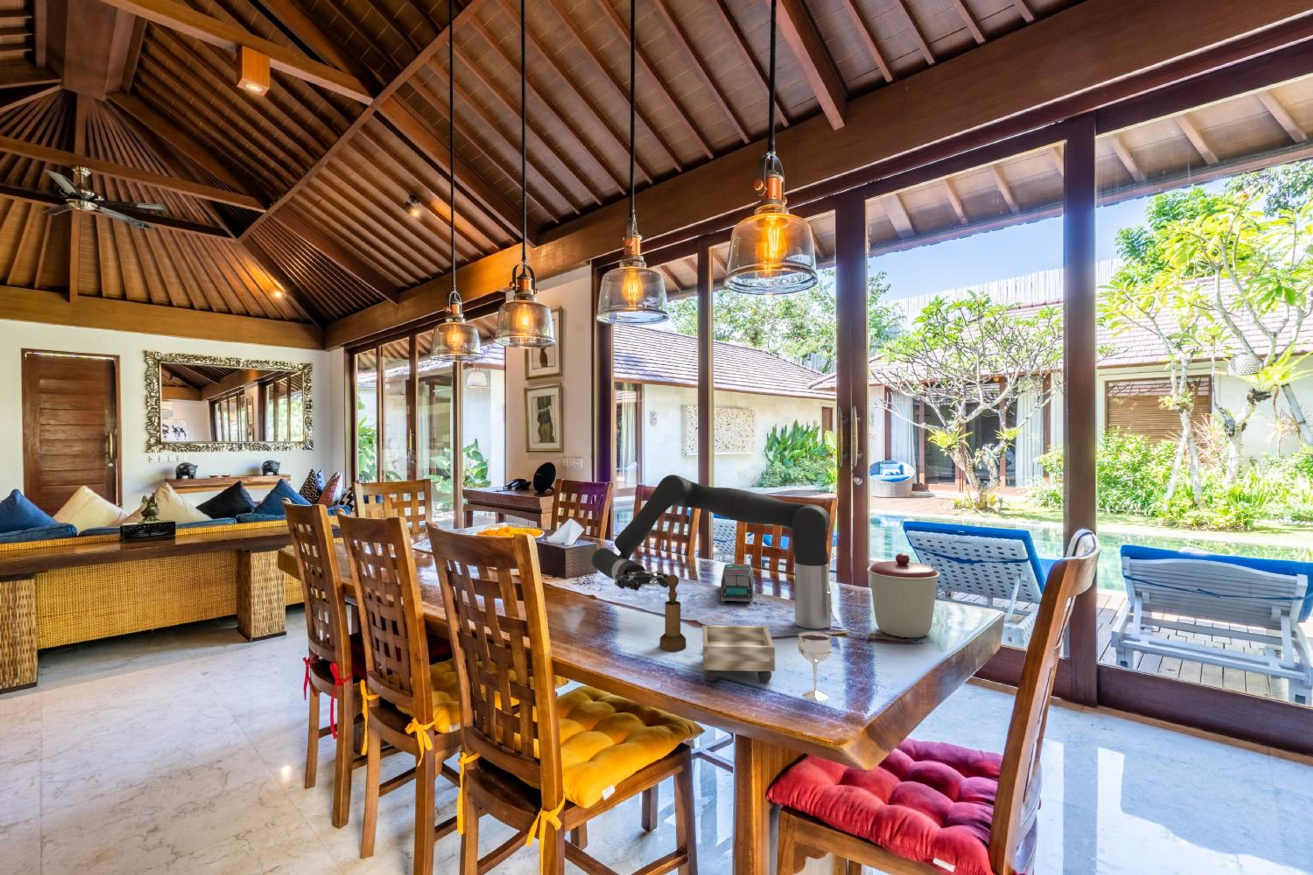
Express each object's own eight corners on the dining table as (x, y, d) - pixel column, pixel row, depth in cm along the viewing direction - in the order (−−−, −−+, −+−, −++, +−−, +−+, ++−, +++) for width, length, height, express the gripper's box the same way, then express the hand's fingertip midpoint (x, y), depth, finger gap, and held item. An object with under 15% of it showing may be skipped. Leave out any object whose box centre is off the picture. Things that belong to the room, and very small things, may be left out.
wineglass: (795, 699, 123) (795, 638, 123) (800, 686, 129) (800, 629, 129) (831, 704, 120) (830, 642, 120) (834, 691, 127) (833, 632, 127)
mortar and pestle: (677, 653, 150) (677, 578, 150) (654, 648, 154) (654, 576, 154) (690, 645, 156) (690, 573, 156) (668, 641, 159) (668, 571, 159)
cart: (767, 660, 145) (767, 626, 145) (775, 685, 130) (774, 647, 130) (703, 659, 146) (702, 625, 146) (703, 684, 131) (702, 646, 131)
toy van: (753, 587, 218) (753, 559, 218) (754, 606, 194) (753, 574, 194) (723, 587, 220) (722, 558, 220) (719, 605, 195) (719, 573, 195)
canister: (863, 621, 176) (863, 547, 176) (931, 624, 172) (930, 548, 173) (872, 641, 158) (871, 558, 159) (948, 645, 155) (947, 560, 155)
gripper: (605, 562, 177) (628, 573, 162) (650, 558, 183) (676, 569, 168) (605, 588, 177) (627, 602, 162) (650, 583, 183) (676, 596, 168)
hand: (652, 585), depth 165 cm, fingers open, 8 cm apart
